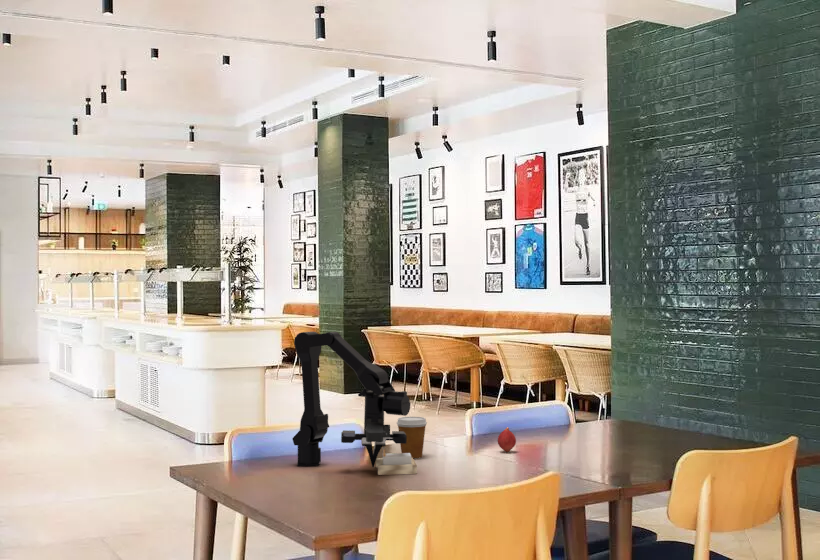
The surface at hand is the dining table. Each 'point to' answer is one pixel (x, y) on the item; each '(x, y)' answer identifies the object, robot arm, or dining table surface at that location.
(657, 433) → the dining table surface
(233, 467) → the dining table surface
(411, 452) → the disposable coffee cup
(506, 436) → the onion
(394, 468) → the bay
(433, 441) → the dining table surface
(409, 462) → the trolley
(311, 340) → the robot arm
